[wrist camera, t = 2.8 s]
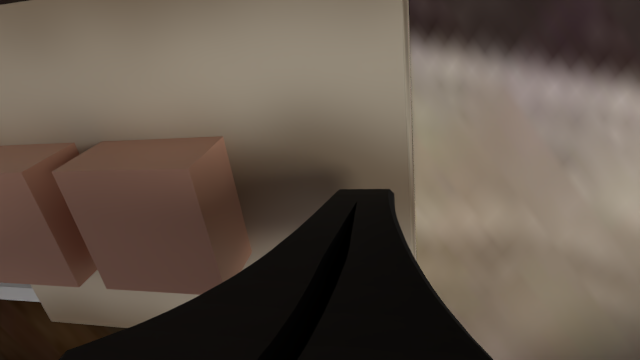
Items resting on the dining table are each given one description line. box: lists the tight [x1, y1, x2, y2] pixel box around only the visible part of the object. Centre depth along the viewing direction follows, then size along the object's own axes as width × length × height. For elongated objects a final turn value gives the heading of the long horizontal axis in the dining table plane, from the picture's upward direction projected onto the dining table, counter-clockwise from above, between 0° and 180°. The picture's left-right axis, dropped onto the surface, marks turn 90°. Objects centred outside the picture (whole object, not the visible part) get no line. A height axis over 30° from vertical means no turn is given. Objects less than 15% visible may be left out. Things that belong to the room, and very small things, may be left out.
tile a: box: [52, 136, 252, 295], centre depth 12 cm, size 4×4×2 cm
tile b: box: [0, 143, 97, 287], centre depth 14 cm, size 4×4×2 cm
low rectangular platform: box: [0, 0, 417, 328], centre depth 15 cm, size 12×15×4 cm
